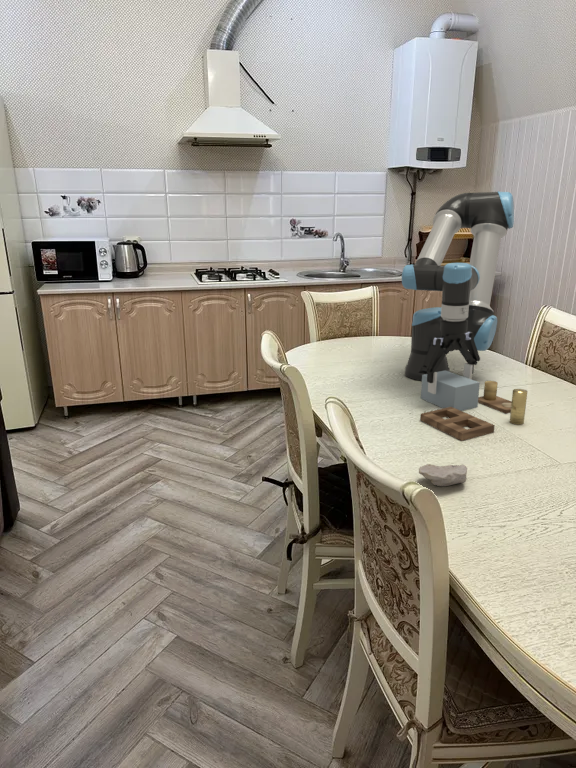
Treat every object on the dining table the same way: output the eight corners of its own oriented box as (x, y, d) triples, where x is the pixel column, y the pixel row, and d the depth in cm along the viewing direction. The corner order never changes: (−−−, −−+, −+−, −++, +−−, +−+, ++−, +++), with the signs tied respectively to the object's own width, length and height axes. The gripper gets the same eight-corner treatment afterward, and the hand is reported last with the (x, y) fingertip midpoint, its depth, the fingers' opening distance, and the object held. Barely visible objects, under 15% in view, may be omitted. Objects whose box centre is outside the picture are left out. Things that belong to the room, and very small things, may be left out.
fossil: (410, 465, 120) (449, 443, 122) (421, 489, 122) (459, 467, 123) (430, 481, 112) (471, 457, 113) (441, 506, 114) (481, 482, 115)
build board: (420, 420, 153) (420, 413, 152) (450, 413, 157) (451, 406, 157) (461, 440, 139) (462, 433, 138) (493, 432, 144) (494, 425, 143)
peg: (506, 421, 151) (509, 390, 148) (516, 418, 152) (519, 387, 149) (517, 425, 147) (520, 393, 145) (526, 423, 149) (530, 391, 146)
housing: (420, 398, 170) (422, 374, 167) (443, 393, 174) (445, 370, 171) (453, 412, 158) (455, 387, 155) (477, 407, 161) (479, 382, 159)
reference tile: (474, 401, 166) (476, 382, 164) (491, 397, 169) (493, 378, 167) (505, 413, 156) (508, 393, 154) (523, 409, 159) (525, 389, 157)
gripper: (428, 326, 149) (425, 400, 156) (496, 315, 160) (490, 384, 167) (411, 321, 156) (408, 392, 163) (477, 311, 166) (471, 378, 173)
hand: (449, 388), depth 165 cm, fingers open, 13 cm apart
